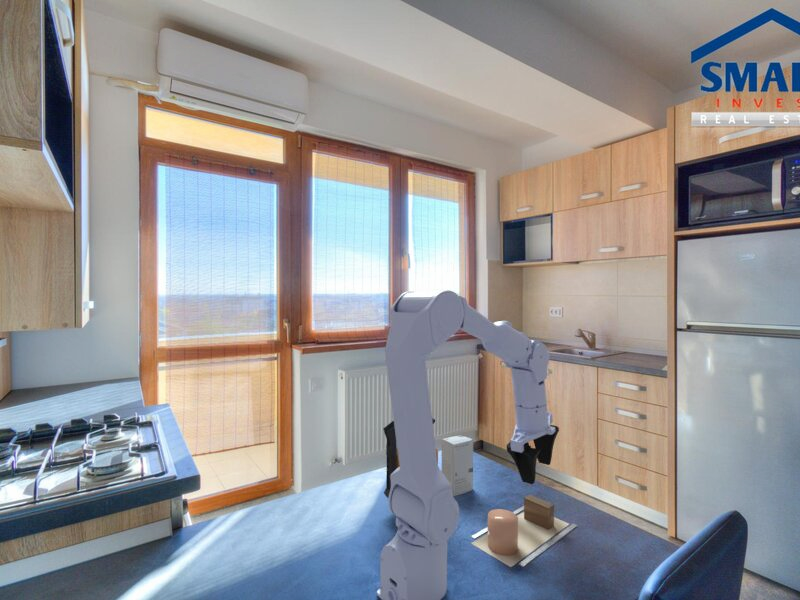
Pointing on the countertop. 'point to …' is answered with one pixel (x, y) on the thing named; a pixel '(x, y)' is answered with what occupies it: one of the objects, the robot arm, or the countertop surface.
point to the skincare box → (458, 463)
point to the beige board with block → (529, 530)
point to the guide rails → (539, 548)
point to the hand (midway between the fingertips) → (536, 472)
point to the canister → (393, 454)
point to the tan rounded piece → (502, 532)
